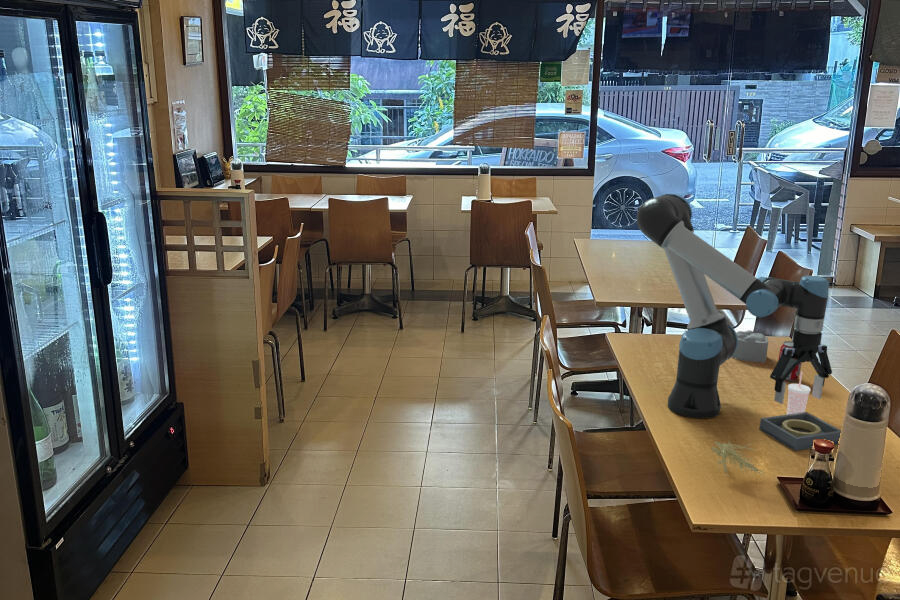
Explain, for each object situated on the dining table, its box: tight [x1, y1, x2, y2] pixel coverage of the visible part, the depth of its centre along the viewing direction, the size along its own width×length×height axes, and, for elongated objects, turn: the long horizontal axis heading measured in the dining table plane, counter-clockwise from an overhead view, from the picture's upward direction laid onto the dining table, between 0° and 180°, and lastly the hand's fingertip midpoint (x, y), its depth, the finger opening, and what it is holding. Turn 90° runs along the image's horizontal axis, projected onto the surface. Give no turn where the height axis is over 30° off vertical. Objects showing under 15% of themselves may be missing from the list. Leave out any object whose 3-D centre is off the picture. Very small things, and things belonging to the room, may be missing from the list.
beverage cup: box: [786, 370, 811, 415], centre depth 236 cm, size 6×6×14 cm
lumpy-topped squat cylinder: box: [730, 329, 769, 363], centre depth 288 cm, size 10×13×9 cm
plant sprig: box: [711, 436, 766, 480], centre depth 201 cm, size 11×15×9 cm
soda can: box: [777, 340, 803, 382], centre depth 267 cm, size 7×7×12 cm
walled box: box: [758, 411, 841, 452], centre depth 224 cm, size 16×14×4 cm
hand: (797, 399), depth 237 cm, fingers open, 13 cm apart
